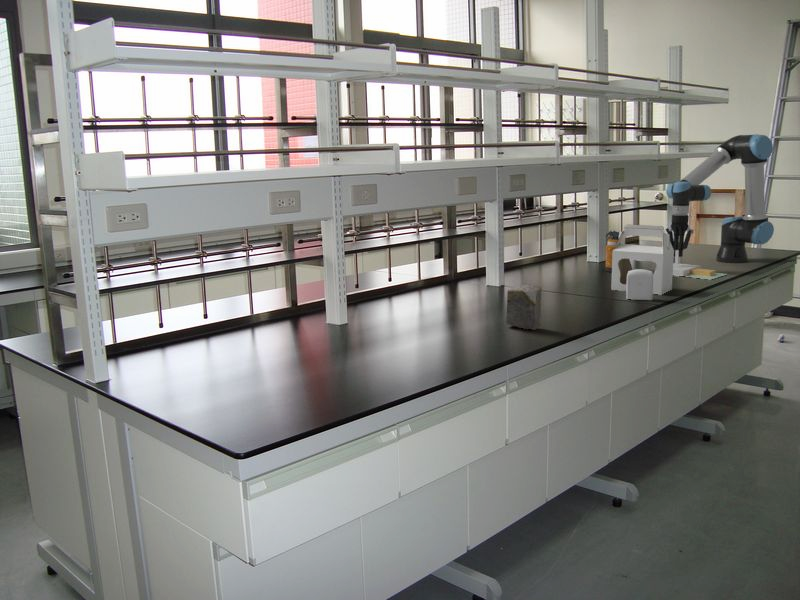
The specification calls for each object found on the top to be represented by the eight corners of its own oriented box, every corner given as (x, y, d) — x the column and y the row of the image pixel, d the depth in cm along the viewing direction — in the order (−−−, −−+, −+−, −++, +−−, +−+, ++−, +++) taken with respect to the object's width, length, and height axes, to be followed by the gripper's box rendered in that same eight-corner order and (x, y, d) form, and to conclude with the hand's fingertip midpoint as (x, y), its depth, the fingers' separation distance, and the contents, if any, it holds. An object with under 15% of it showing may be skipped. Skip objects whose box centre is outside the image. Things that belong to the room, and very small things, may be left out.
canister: (612, 273, 355) (614, 232, 351) (598, 270, 365) (600, 230, 361) (628, 272, 358) (629, 231, 354) (613, 268, 368) (615, 229, 364)
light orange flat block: (691, 274, 346) (691, 270, 346) (697, 272, 350) (697, 268, 350) (709, 276, 340) (710, 272, 339) (715, 274, 344) (715, 270, 343)
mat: (702, 272, 353) (702, 271, 353) (727, 274, 345) (727, 274, 345) (685, 277, 341) (685, 276, 341) (710, 280, 333) (710, 279, 333)
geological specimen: (505, 328, 256) (506, 285, 253) (513, 324, 261) (513, 283, 258) (534, 331, 250) (534, 288, 247) (541, 327, 255) (542, 285, 252)
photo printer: (625, 300, 296) (626, 270, 293) (625, 297, 300) (627, 268, 297) (652, 301, 293) (654, 270, 290) (652, 298, 297) (653, 268, 294)
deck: (673, 268, 364) (673, 262, 364) (700, 271, 354) (701, 265, 353) (655, 273, 352) (655, 267, 352) (683, 277, 342) (683, 270, 342)
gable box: (610, 290, 317) (612, 225, 311) (622, 285, 327) (624, 222, 321) (662, 295, 303) (665, 228, 297) (672, 290, 313) (676, 225, 307)
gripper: (663, 214, 351) (661, 262, 356) (690, 215, 341) (687, 265, 346) (671, 213, 356) (668, 261, 361) (697, 214, 347) (694, 263, 351)
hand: (677, 263), depth 354 cm, fingers closed
